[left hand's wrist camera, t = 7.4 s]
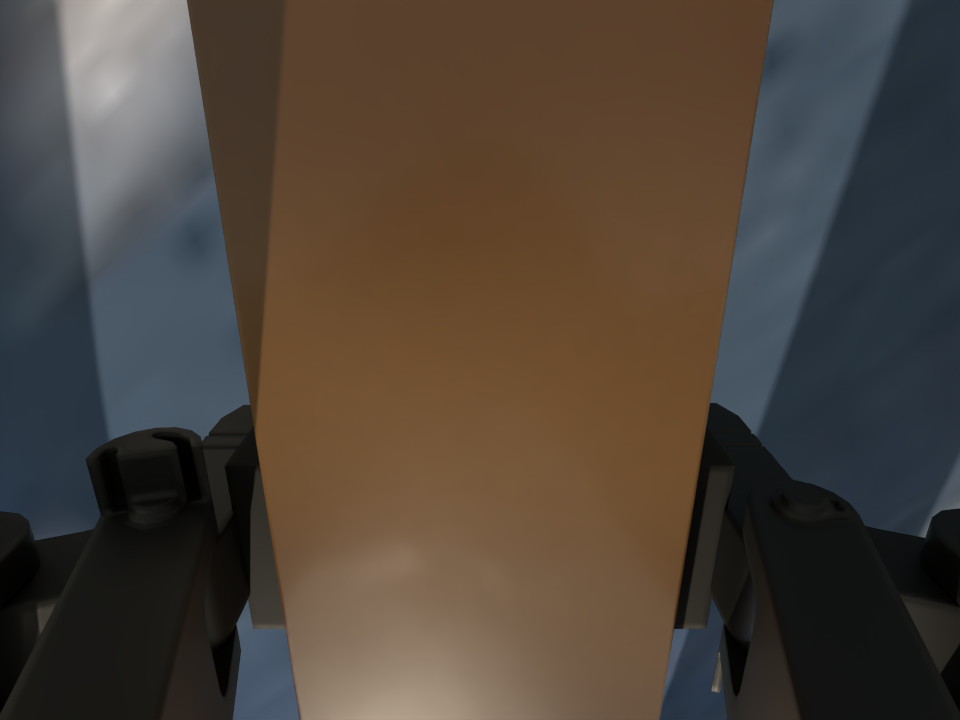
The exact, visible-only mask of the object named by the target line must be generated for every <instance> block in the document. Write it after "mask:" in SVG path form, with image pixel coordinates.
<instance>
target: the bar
mask: <svg viewBox="0 0 960 720" xmlns="http://www.w3.org/2000/svg"><path fill="white" fill-rule="evenodd" d="M773 2H774V0H187V4H188V10H189V16H190V23H191V29H192V36H193V42H194V48H195V55H196V61H197V67H198V74H199V80H200V87H201V93H202V99H203V106H204V112H205V118H206V125H207V131H208V138H209V144H210V150H211V157H212V163H213V170H214V176H215V182H216V189H217V195H218V201H219V208H220V214H221V221H222V227H223V233H224V240H225V246H226V252H227V259H228V265H229V272H230V278H231V284H232V291H233V297H234V303H235V310H236V316H237V323H238V329H239V335H240V342H241V348H242V354H243V361H244V367H245V374H246V380H247V386H248V393H249V399H250V406H251V412H252V418H253V425H254V431H255V437H256V444H257V450H258V457H259V463H260V469H261V476H262V482H263V488H264V495H265V501H266V508H267V514H268V520H269V527H270V533H271V539H272V546H273V552H274V559H275V565H276V571H277V578H278V584H279V590H280V597H281V603H282V610H283V616H284V622H285V629H286V635H287V641H288V648H289V654H290V661H291V667H292V673H293V680H294V686H295V693H296V699H297V705H298V712H299V718H300V720H660V714H661V707H662V701H663V695H664V688H665V682H666V676H667V670H668V663H669V657H670V651H671V644H672V638H673V632H674V626H675V619H676V613H677V607H678V600H679V594H680V588H681V581H682V575H683V569H684V563H685V556H686V550H687V544H688V537H689V531H690V525H691V519H692V512H693V506H694V500H695V493H696V487H697V481H698V474H699V468H700V462H701V456H702V449H703V443H704V437H705V430H706V424H707V418H708V412H709V405H710V399H711V393H712V386H713V380H714V374H715V367H716V361H717V355H718V349H719V342H720V336H721V330H722V323H723V317H724V311H725V305H726V298H727V292H728V286H729V279H730V273H731V267H732V260H733V254H734V248H735V242H736V235H737V229H738V223H739V216H740V210H741V204H742V198H743V191H744V185H745V179H746V172H747V166H748V160H749V153H750V147H751V141H752V135H753V128H754V122H755V116H756V109H757V103H758V97H759V91H760V84H761V78H762V72H763V65H764V59H765V53H766V46H767V40H768V34H769V28H770V21H771V15H772V9H773Z"/></svg>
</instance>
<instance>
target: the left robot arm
mask: <svg viewBox="0 0 960 720" xmlns="http://www.w3.org/2000/svg"><path fill="white" fill-rule="evenodd" d="M86 462H87V466H88V470H89V473H90V477H91V480H92V484H93V488H94V491H95V495H96V499H97V502H98V506H99V510H100V513H101V517H100V519H99V521H98V523H97V525H96V527H95V528H94V529H92V530H88V531H84V532H79V533H73V534H68V535H63V536H58V537H52V538H47V539H42V540H36V541H35V539H34V536H33V533H32V530H31V527H30V524H29V521H28V520H27V519H26V518H24V517H23V516H21V515H20V514H18V513H10V512H2V511H1V512H0V720H233V712H234V704H235V696H236V687H237V679H238V671H239V663H240V654H241V648H240V641H239V636H238V630H237V625H236V623H237V621H238V619H239V617H240V615H241V613H242V611H243V609H244V606H245V604H246V602H247V600H248V601H249V607H250V613H251V618H252V624H253V629H285V622H284V616H283V610H282V603H281V597H280V590H279V584H278V578H277V571H276V565H275V559H274V552H273V546H272V539H271V533H270V527H269V520H268V514H267V508H266V501H265V495H264V488H263V482H262V476H261V469H260V463H259V457H258V450H257V444H256V437H255V431H254V425H253V418H252V412H251V406H250V405H243V406H241V407H240V408H238V409H236V410H234V411H233V412H231V413H229V414H228V415H226V416H224V417H223V418H221V419H220V420H219V422H218V423H217V424H216V425H215V426H214V428H213V429H212V430H211V431H210V432H209V436H206V437H205V438H204V439H203V441H202V442H201V437H200V436H199V435H197V434H196V433H195V432H193V431H192V430H187V429H182V428H177V427H170V428H153V429H148V430H142V431H137V432H133V433H130V434H127V435H124V436H121V437H118V438H115V439H113V440H111V441H109V442H108V443H106V444H104V445H102V446H100V447H98V448H97V449H96V450H95V451H93V452H92V453H91V454H90V455H89V456H88V457H87V458H86ZM712 598H713V600H714V602H715V604H716V606H717V608H718V610H719V613H720V615H721V617H722V619H723V621H724V625H723V630H722V636H721V641H720V646H719V651H718V657H717V662H716V667H715V672H714V678H713V684H712V690H711V691H715V692H720V689H721V684H722V680H723V686H724V694H725V702H726V711H727V719H728V720H960V509H951V510H943V511H940V512H939V513H938V514H936V515H935V516H933V517H932V519H931V522H930V525H929V528H928V531H927V535H926V538H923V537H917V536H912V535H907V534H901V533H896V532H891V531H885V530H880V529H875V528H871V527H867V526H865V525H864V523H863V521H862V519H861V518H860V516H859V514H858V513H857V512H856V511H855V509H854V508H853V507H852V506H851V505H850V503H848V502H847V501H845V500H844V499H842V498H841V497H839V496H838V495H836V494H835V493H833V492H831V491H828V490H826V489H823V488H821V487H818V486H816V485H813V484H809V483H805V482H800V481H796V480H792V478H791V477H790V476H789V475H788V474H787V473H786V471H785V470H784V469H783V468H782V467H781V466H780V464H779V463H778V462H777V461H776V460H775V458H774V457H773V456H772V455H771V454H770V453H769V451H768V450H767V449H766V448H765V447H762V443H761V442H760V441H759V440H758V438H757V437H756V436H755V435H754V434H751V430H750V429H749V428H748V427H747V426H746V424H745V423H744V422H743V421H742V420H741V418H740V417H739V416H738V415H736V414H734V413H732V412H731V411H729V410H727V409H726V408H724V407H722V406H720V405H719V404H717V403H710V405H709V412H708V418H707V424H706V430H705V437H704V443H703V449H702V456H701V462H700V468H699V474H698V481H697V487H696V493H695V500H694V506H693V512H692V519H691V525H690V531H689V537H688V544H687V550H686V556H685V563H684V569H683V575H682V581H681V588H680V594H679V600H678V607H677V613H676V619H675V626H674V629H706V627H707V621H708V616H709V610H710V604H711V599H712Z"/></svg>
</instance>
